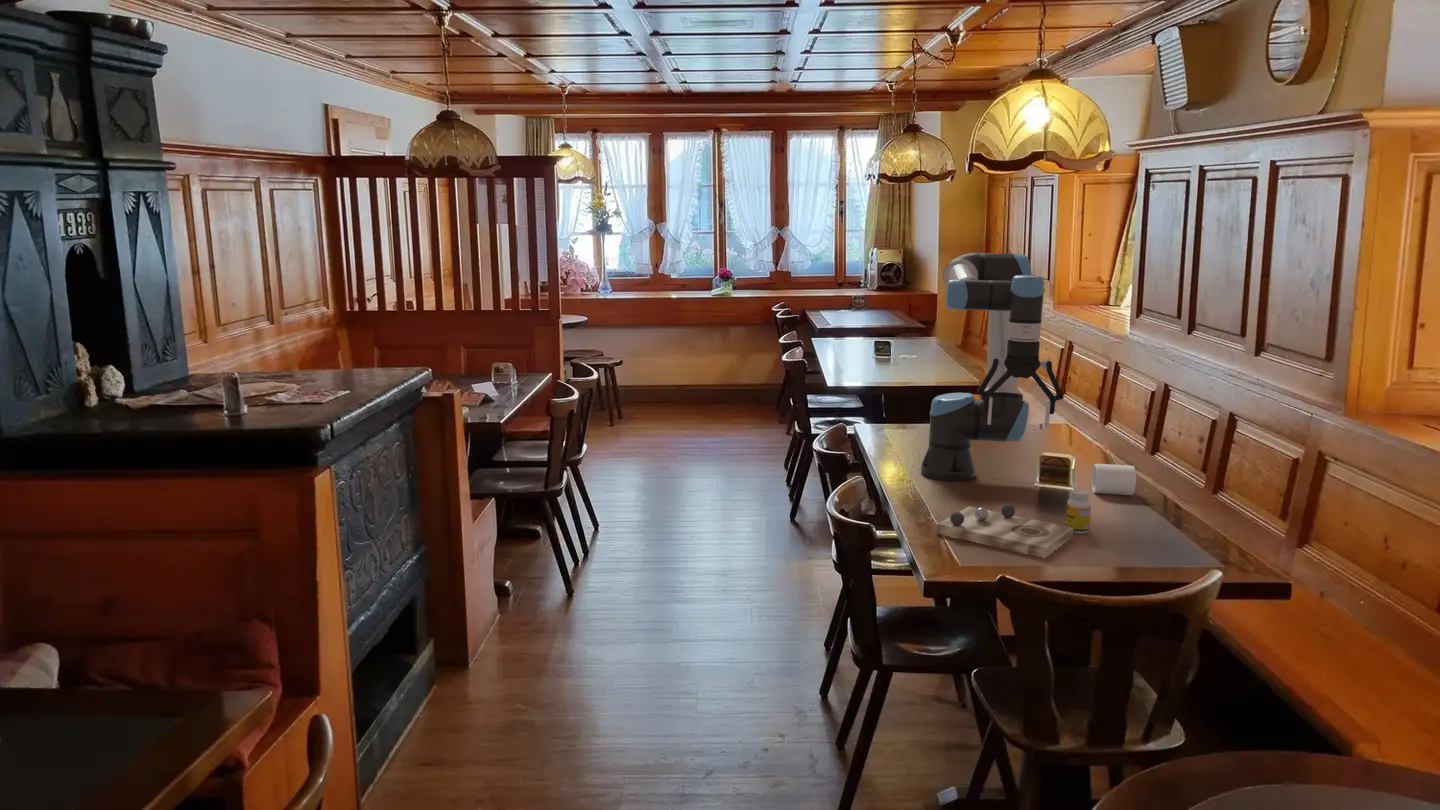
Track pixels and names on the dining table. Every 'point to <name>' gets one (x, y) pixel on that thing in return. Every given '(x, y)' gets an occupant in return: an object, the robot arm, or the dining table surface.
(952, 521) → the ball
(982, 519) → the steel ball
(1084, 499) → the supplement bottle
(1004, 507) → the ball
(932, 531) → the dining table surface
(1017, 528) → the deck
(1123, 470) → the mug
